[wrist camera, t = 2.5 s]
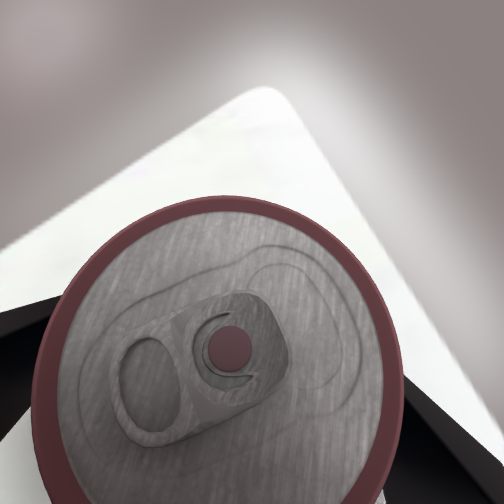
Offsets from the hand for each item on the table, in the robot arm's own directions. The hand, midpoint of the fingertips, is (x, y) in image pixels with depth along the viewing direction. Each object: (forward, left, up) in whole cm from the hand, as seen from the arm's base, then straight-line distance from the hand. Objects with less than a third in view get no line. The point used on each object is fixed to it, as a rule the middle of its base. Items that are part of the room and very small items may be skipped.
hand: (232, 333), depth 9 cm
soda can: (0, 0, -8) cm, 8 cm away
